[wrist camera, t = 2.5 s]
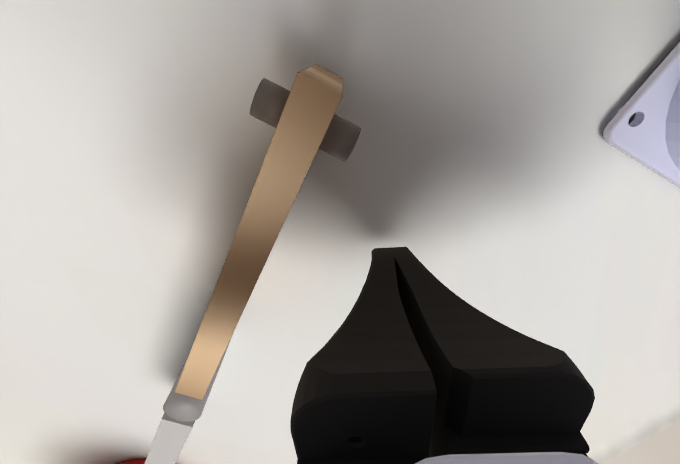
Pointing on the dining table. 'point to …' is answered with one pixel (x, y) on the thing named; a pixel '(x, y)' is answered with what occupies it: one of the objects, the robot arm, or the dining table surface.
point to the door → (269, 204)
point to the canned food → (134, 461)
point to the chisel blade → (177, 423)
